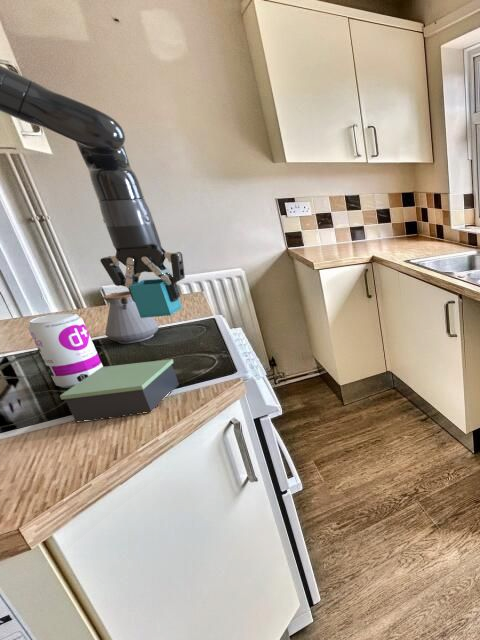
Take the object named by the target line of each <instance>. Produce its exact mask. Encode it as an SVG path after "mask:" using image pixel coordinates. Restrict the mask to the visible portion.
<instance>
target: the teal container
mask: <svg viewBox="0 0 480 640" xmlns="http://www.w3.org/2000/svg"><path fill="white" fill-rule="evenodd" d="M129 288H130V291H131V293H132V296H133V299H134V301H135V304H136V307H137V309H138V312H139V315H140V317H141V318H147V317H152V318H156V317H166V316H167V317H169V316H172V315H174V314H176V313H177V312H178V311H179V310H182V308H183V306H182V302H181V300H180V297H179V298H178V300H177V301H175V302H171V301H170V298H169V295H168V292H167V289H166V284H165V283H164V282H163V281H162V279H161V278H153V279H152V278H151V279H142V280H139V282H137V283H135V284H133V285H131V286H129Z"/></svg>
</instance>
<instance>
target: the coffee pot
mask: <svg viewBox="0 0 480 640" xmlns="http://www.w3.org/2000/svg"><path fill="white" fill-rule="evenodd" d="M101 299H103V300H104V301H106V302H107V303H108V304H109V308H108V314H107V321H106V326H105V327H106V328H105V332H104V334H105V336H106V337H107V338H108V339H110V340H111V341H114V342H118V344H122V345H123V344H134V343H139V342H143V341H146V340H149V339H151V338H153V337H154V336H155V334H156V333H157V332H158V330H159V326H160V324H159V322H158V321H156V320H155V318H154V317H147V318H141V317H140V315H139V312H138V309H137V307H136V304H135V302H134V301H133V300H132V297H131V294H130V292H129V291H120V292H114V293H110V294H106V295H104V296H103V297H101Z"/></svg>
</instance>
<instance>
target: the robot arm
mask: <svg viewBox="0 0 480 640" xmlns="http://www.w3.org/2000/svg"><path fill="white" fill-rule="evenodd" d="M0 112H1V113H3V114H6V115H8V116H11V117H13V118H14V119H17V120H19V121H22V122H25V123H28V124H31V125H34V126H37V127H41V128H44V129H47V130H49V131H51V132H54V133H55V134H58V135H61V136H63V137H65V138H67V139H69V140H71V141H74V142H75V143H76V146H77V148H78V150H79V151H78V152H79V153H80V155H81V157H82V159H83V161H84V164H85V166H86V168H87V170H88V173H89V178H90V182H91V185H92V188H93V191H94V193H95V195H96V199H97V200H98V204H99V209H100V214H101V216H102V221H103V224H105V227H106V229H107V232H108V235H109V238H110V241H111V243H112V246H113V248H114V249H115V255H112V256H111V255H109V256H105V257H101V258H100V260H99V261H100V263H101V265H102V267H103V268H104V270H105V271H106V273H107V274H108V276H109V278H110V279H111V281H112V283H113V284H114V285H115V286H116V287H120V286H121V287H124V288H127V289H128V292H130V294H131V297H132V300H133V301H134V299H133V296H132V293H131V291H130V288H129V286H131V285H133V284H135V283H137V282H140V276H141V275H142V273H144V272H146V273H153V274H155V276H156V277H159V279H162V281H163V282H164V283H165V284H166V289H167V292H168V295H169V298H170V301H171V302H175V301H177V300H178V298H179V299H180V297H181V293H180V290H179V288H178V284H177V283H178V282H180V281H182V280H184V279H185V278H186V276H185V265H184V260H183V258H184V257H183V253H182V252H180V251H176V252H167V251H166V250H165V249H164V248H163V247H162V243H161V239H160V236H159V234H158V230H157V227H156V224H155V221H154V219H153V216H152V213H151V210H150V207H149V205H148V203H147V202H146V199H145V196H144V194H143V190H142V187H141V185H140V181H139V179H138V177H137V175H136V173H135V172H134V171H133V169H132V167H131V164H130V161H129V158H128V155H127V151H126V148H125V143H126V134H125V131H124V129H123V127H122V126H121V124H120V123H119V122H118V121H116V119H114V118H113V117H112V116H110V115H108V114H106V113H105V112H103V111H101V110H99V109H96V108H95V107H92V106H90V105H87V104H85V103H83V102H81V101H78V100H76V99H73V98H71V97H68V96H66V95H63V94H60V93H58V92H56V91H53V90H51V89H49V88H47V87H45V86H44V85H42V84H40V83H38V82H36V81H34V80H32V79H30V78H28V77H26V76H23V75H21V74H19V73H18V72H16V71H13V70H11V69H9V68H7V67H6V66H3V65H1V64H0ZM166 259H167V261H168V262H169V263H170V264H171V270H170V269H169V267H167V265H166V264H165V260H166ZM120 263H121V264H122V265H124V266H125V274H124V272H123V271H122V268H121V267H120ZM171 272H172V273H171ZM134 302H135V301H134Z"/></svg>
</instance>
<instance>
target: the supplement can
mask: <svg viewBox="0 0 480 640" xmlns="http://www.w3.org/2000/svg"><path fill="white" fill-rule="evenodd" d="M28 332H29V333H30V337H32V340H33V342H34V344H35V346H36V347H37V350H38V352H39V354H40V356H41V358H42V360H43V362H44V365H45V367H46V368H47V370H48V373H49V375H50V376H51V378H52V381H53V382H54V385H55V386H58V387H60V388H63V389H70V388H72V387H73V386H75V385H76V384H78V383H79V382H81V381H82V380H84V379H85V378H87V377H88V376H90V375H91V374H93V373H94V372H95V371H97V370H98V369H100V368H101V367H104V365H103V363H102V361H101V358H100V356H99V354H98V351H97V349H96V347H95V344H94V342H93V340H92V338H91V336H90V332H89V331H88V328H87V325H86V324H85V322H84V320H83V318H82V317H81V316H79V315H78V314H77V313H76V312H73V311H68V312H67V311H65V312H57V313H51V314H46V315H41V316H38V317H35V318H32V319H31V320H29V325H28Z"/></svg>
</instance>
